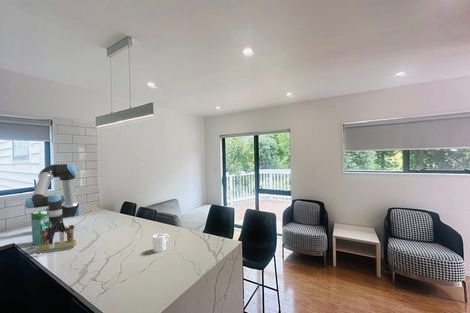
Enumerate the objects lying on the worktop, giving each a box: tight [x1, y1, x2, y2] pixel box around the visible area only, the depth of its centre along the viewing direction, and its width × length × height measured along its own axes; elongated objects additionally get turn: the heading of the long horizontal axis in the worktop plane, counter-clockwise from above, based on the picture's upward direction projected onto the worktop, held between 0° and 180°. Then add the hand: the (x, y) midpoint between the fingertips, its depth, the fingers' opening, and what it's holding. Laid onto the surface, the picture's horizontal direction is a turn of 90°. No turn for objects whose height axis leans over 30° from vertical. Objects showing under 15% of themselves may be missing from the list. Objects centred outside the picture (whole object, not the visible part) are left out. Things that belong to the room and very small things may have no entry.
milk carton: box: [30, 209, 55, 246], centre depth 170 cm, size 9×9×25 cm
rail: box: [36, 239, 77, 253], centre depth 156 cm, size 22×4×4 cm, turn 105°
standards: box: [40, 224, 75, 244], centre depth 164 cm, size 7×20×13 cm, turn 105°
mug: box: [152, 232, 170, 253], centre depth 148 cm, size 8×12×10 cm
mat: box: [36, 247, 74, 255], centre depth 155 cm, size 9×20×1 cm, turn 105°
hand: (57, 244), depth 155 cm, fingers open, 13 cm apart
